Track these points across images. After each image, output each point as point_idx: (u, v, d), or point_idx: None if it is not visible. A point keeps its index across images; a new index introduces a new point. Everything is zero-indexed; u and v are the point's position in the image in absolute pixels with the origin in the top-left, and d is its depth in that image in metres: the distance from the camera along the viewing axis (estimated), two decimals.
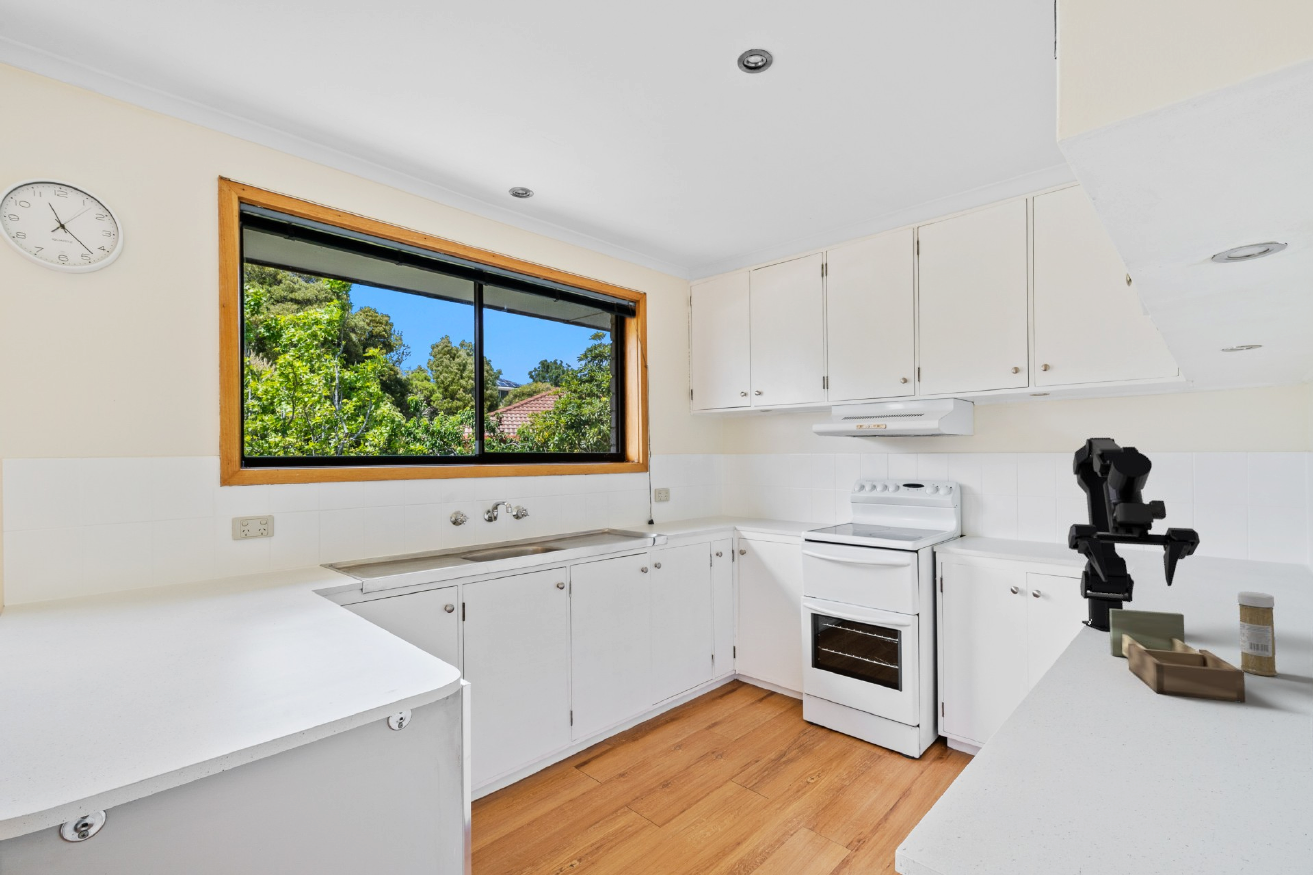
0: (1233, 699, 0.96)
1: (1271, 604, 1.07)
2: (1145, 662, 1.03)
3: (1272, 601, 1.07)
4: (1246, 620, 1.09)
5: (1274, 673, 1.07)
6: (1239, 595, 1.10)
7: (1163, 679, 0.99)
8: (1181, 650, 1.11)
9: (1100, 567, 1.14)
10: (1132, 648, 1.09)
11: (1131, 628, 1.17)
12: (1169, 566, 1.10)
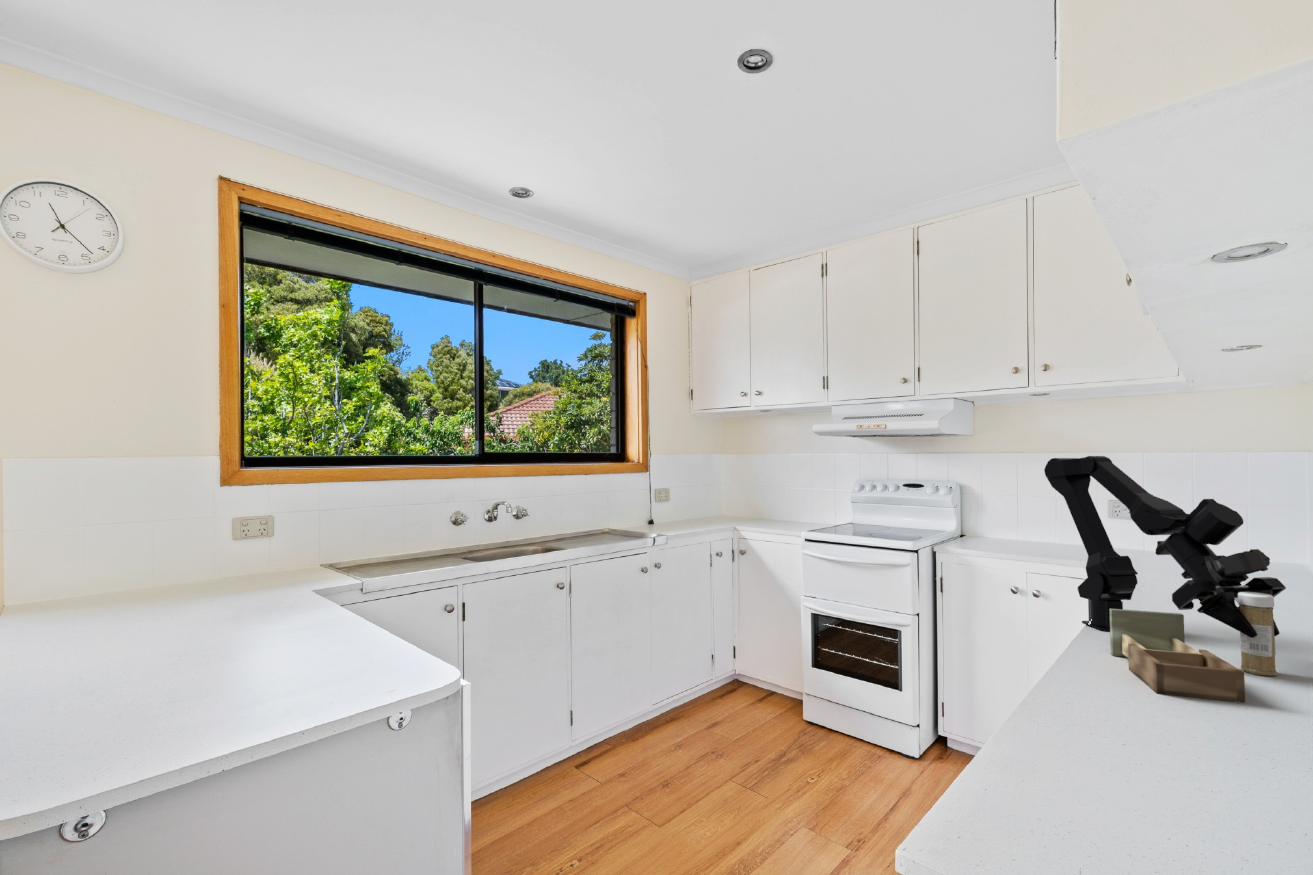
0: (1233, 699, 0.96)
1: (1271, 604, 1.07)
2: (1145, 662, 1.03)
3: (1272, 601, 1.07)
4: None
5: (1274, 673, 1.07)
6: (1239, 595, 1.10)
7: (1163, 679, 0.99)
8: (1181, 650, 1.11)
9: (1245, 622, 1.08)
10: (1132, 648, 1.09)
11: (1131, 628, 1.17)
12: None
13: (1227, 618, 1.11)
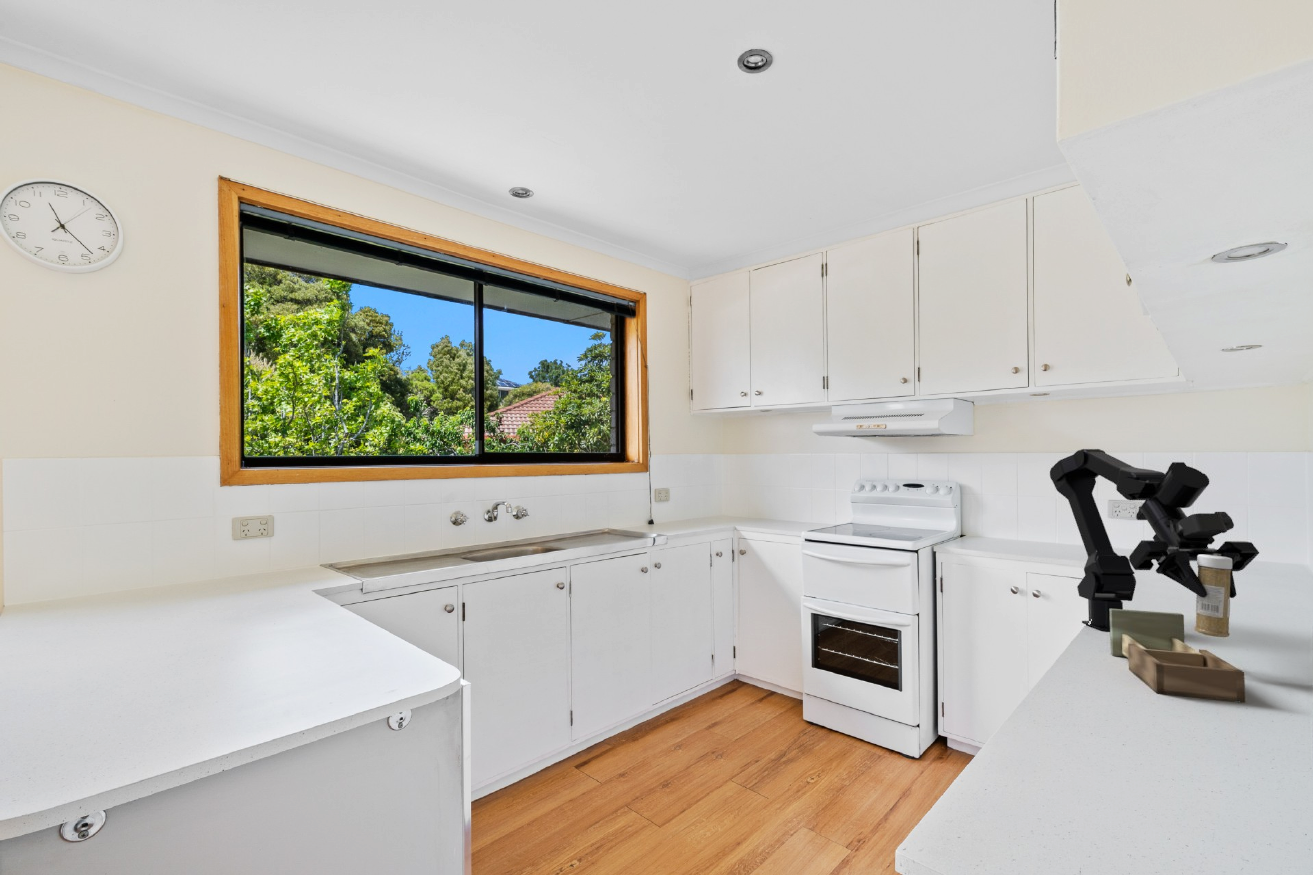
0: (1233, 699, 0.96)
1: (1226, 566, 1.07)
2: (1145, 662, 1.03)
3: (1228, 563, 1.07)
4: (1201, 580, 1.09)
5: (1224, 635, 1.07)
6: (1197, 556, 1.11)
7: (1163, 679, 0.99)
8: (1181, 650, 1.11)
9: (1196, 582, 1.09)
10: (1132, 648, 1.09)
11: (1131, 628, 1.17)
12: None
13: (1182, 578, 1.12)
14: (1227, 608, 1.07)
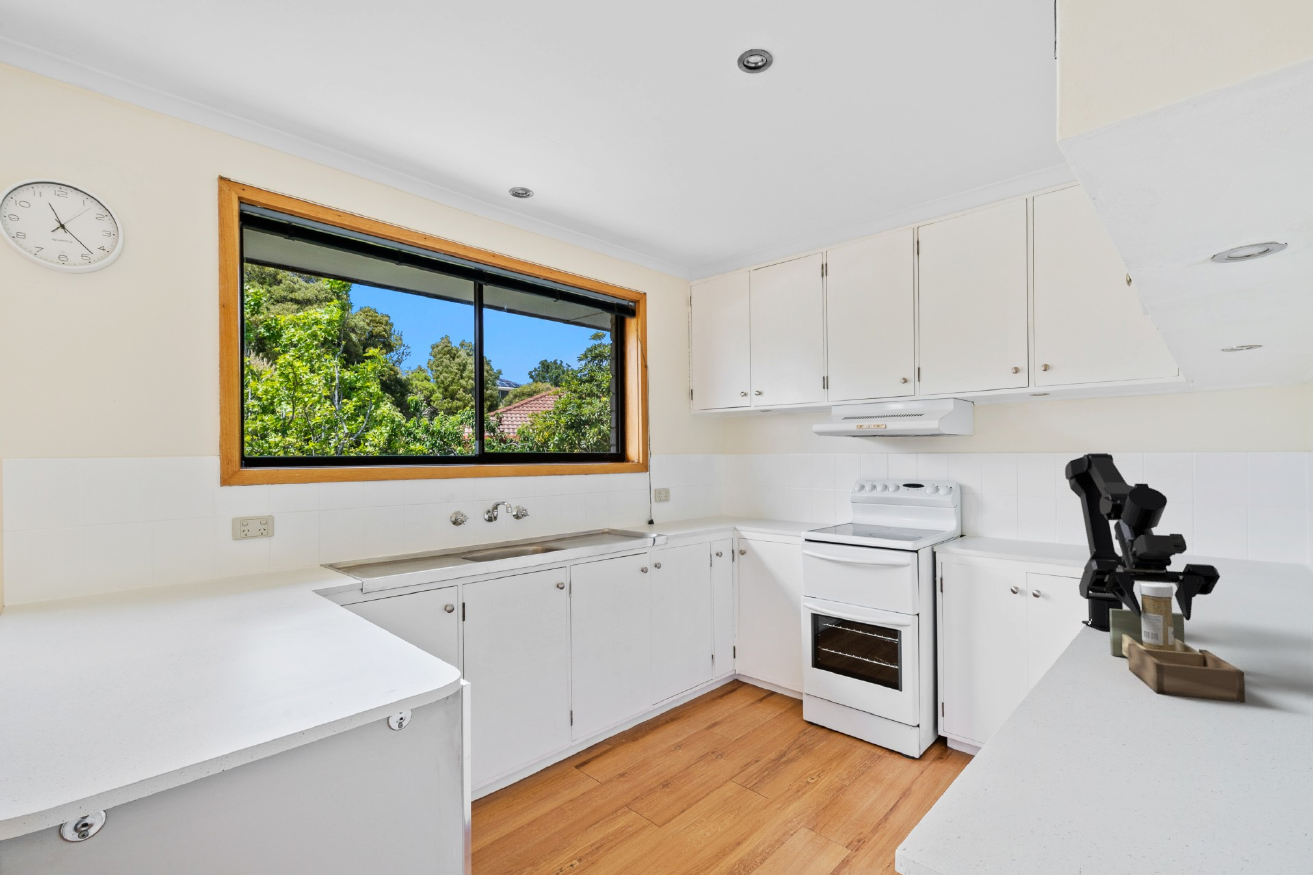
0: (1233, 699, 0.96)
1: (1162, 594, 1.09)
2: (1145, 662, 1.03)
3: (1164, 591, 1.09)
4: (1142, 608, 1.12)
5: None
6: (1140, 584, 1.13)
7: (1163, 679, 0.99)
8: (1181, 650, 1.11)
9: (1133, 602, 1.12)
10: (1132, 648, 1.09)
11: (1131, 628, 1.17)
12: (1185, 600, 1.09)
13: (1124, 598, 1.14)
14: (1168, 636, 1.09)
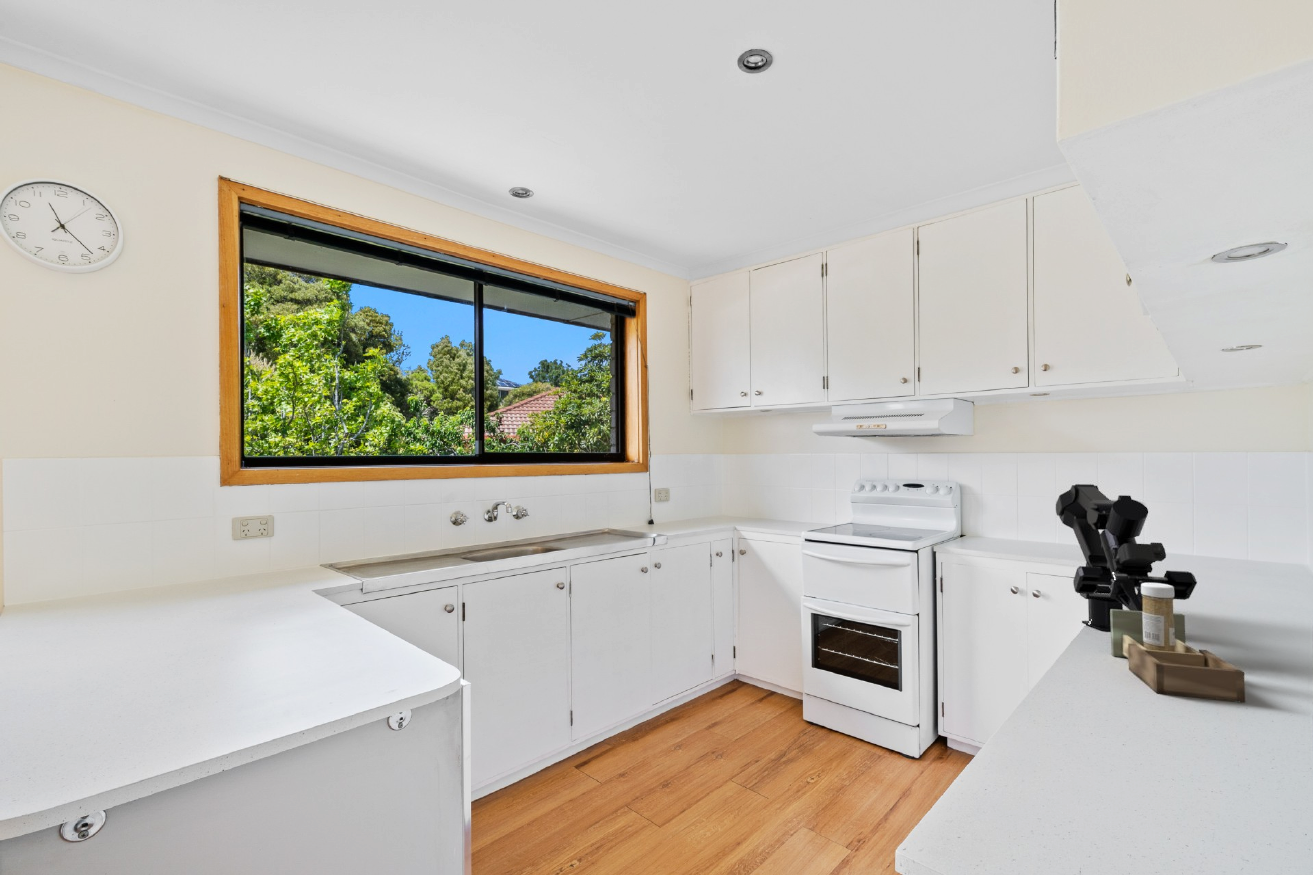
0: (1233, 699, 0.96)
1: (1164, 595, 1.08)
2: (1145, 662, 1.03)
3: (1166, 592, 1.08)
4: (1143, 609, 1.11)
5: None
6: (1141, 585, 1.12)
7: (1163, 679, 0.99)
8: (1182, 651, 1.11)
9: (1137, 607, 1.19)
10: (1132, 648, 1.09)
11: (1131, 629, 1.17)
12: None
13: (1128, 603, 1.21)
14: (1169, 637, 1.08)
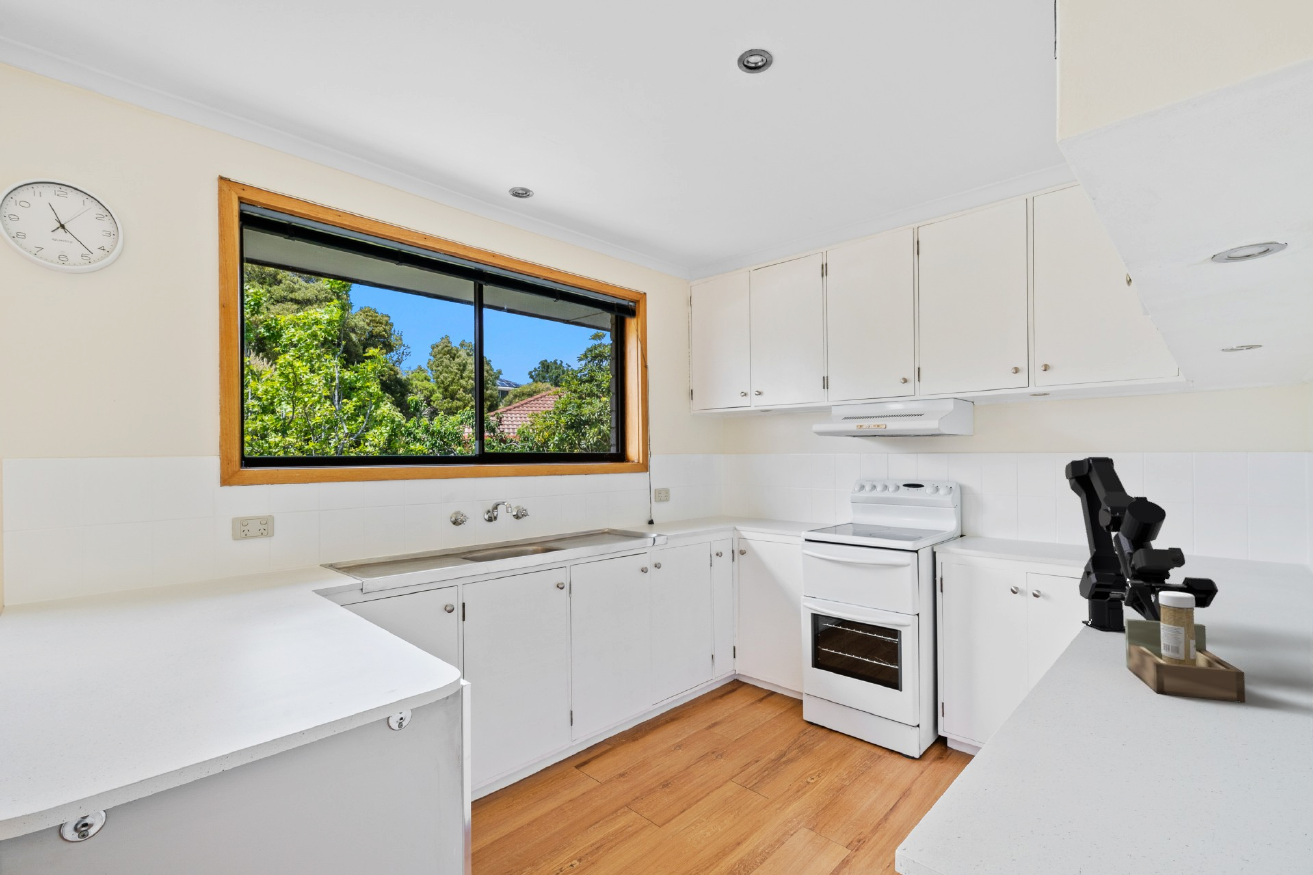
0: (1233, 699, 0.96)
1: (1184, 604, 1.01)
2: (1145, 662, 1.03)
3: (1186, 601, 1.01)
4: (1161, 619, 1.04)
5: None
6: (1159, 593, 1.05)
7: (1163, 679, 0.99)
8: (1203, 664, 1.03)
9: (1154, 617, 1.11)
10: (1132, 648, 1.09)
11: (1148, 640, 1.09)
12: None
13: (1144, 612, 1.14)
14: (1190, 649, 1.01)
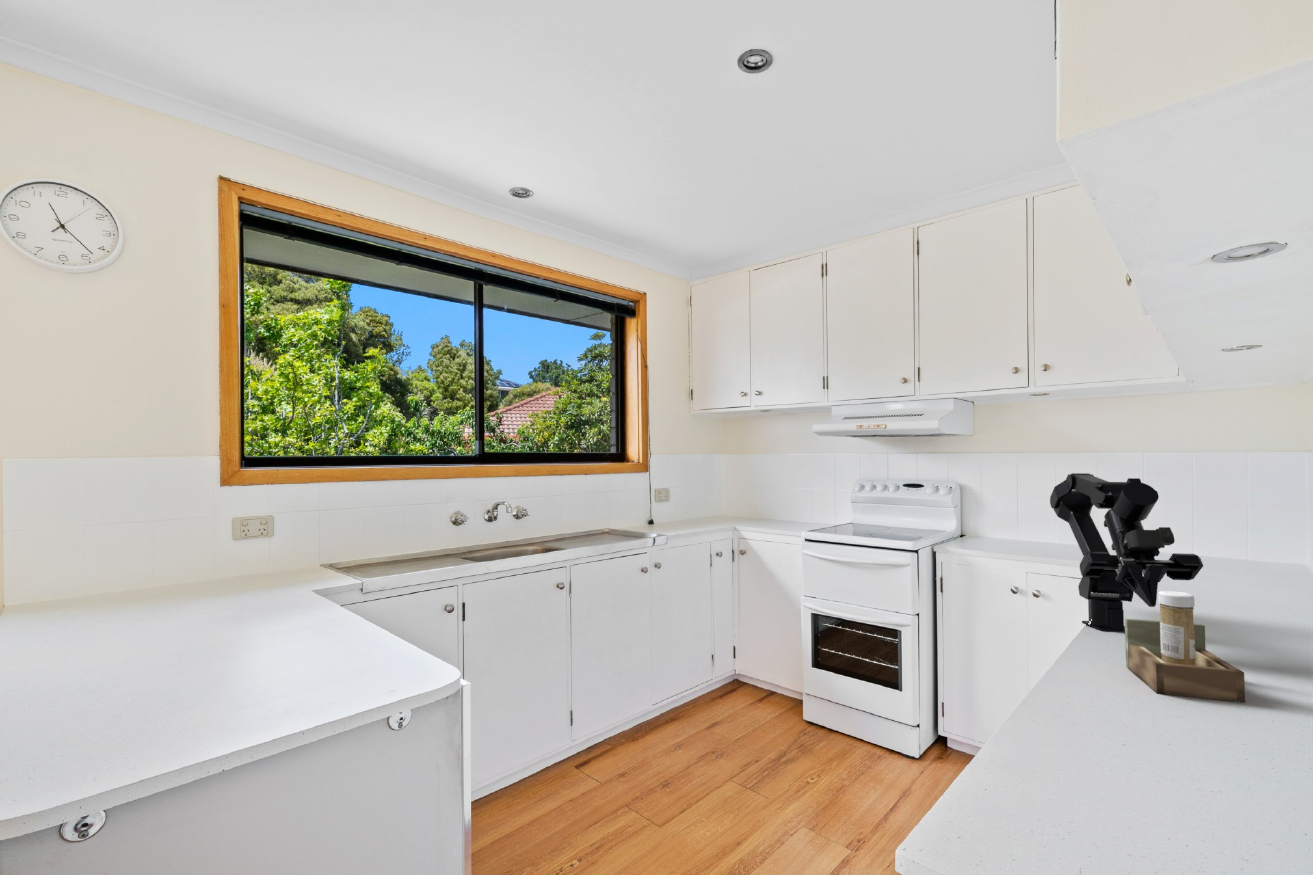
0: (1233, 699, 0.96)
1: (1183, 604, 1.01)
2: (1145, 662, 1.03)
3: (1185, 601, 1.01)
4: (1161, 619, 1.04)
5: None
6: None
7: (1163, 679, 0.99)
8: (1203, 664, 1.04)
9: (1145, 593, 1.19)
10: (1132, 648, 1.09)
11: (1148, 640, 1.10)
12: (1151, 588, 1.19)
13: (1136, 588, 1.21)
14: (1189, 649, 1.01)
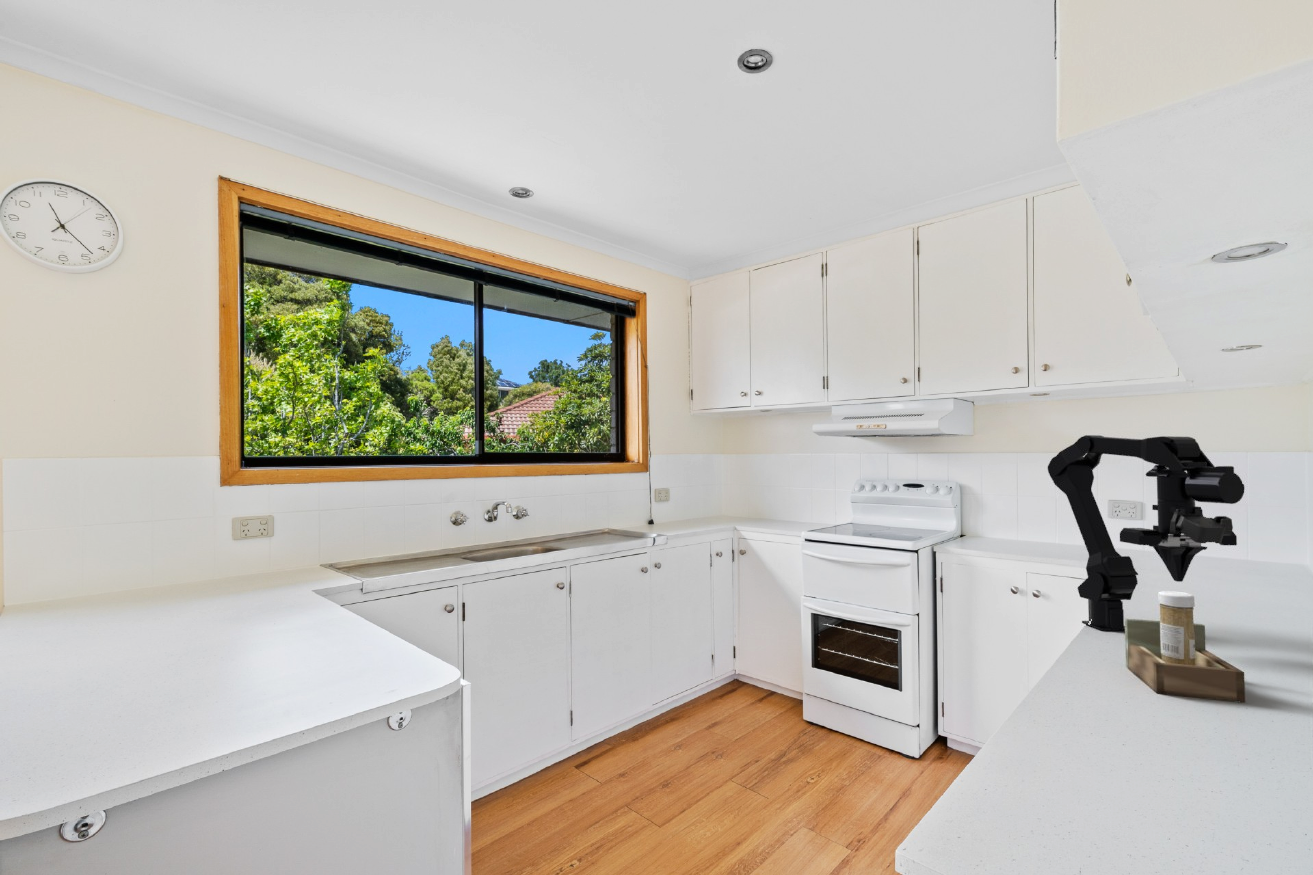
0: (1233, 699, 0.96)
1: (1183, 604, 1.01)
2: (1145, 662, 1.03)
3: (1185, 601, 1.01)
4: (1161, 619, 1.04)
5: None
6: None
7: (1163, 679, 0.99)
8: (1203, 664, 1.04)
9: (1177, 571, 1.22)
10: (1132, 648, 1.09)
11: (1148, 640, 1.10)
12: (1184, 566, 1.22)
13: (1167, 560, 1.24)
14: (1189, 649, 1.01)
